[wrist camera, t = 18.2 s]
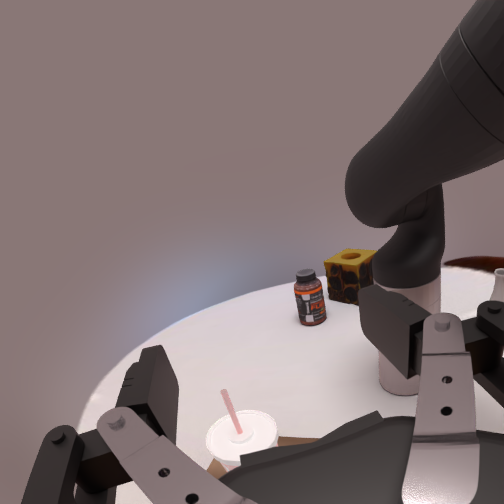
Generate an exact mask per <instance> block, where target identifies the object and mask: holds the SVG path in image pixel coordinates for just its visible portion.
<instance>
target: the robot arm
mask: <svg viewBox="0 0 504 504" xmlns="http://www.w3.org/2000/svg"><path fill="white" fill-rule="evenodd" d="M503 159H504V0H477V1H476V2H475V4H474V5H473V6H472V8H471V9H470V10H469V12H468V13H467V14H466V16H465V17H464V18H463V20H462V21H461V23H460V24H459V25H458V27H457V28H456V29H455V31H454V32H453V34H452V35H451V37H450V38H449V40H448V41H447V43H446V44H445V45H444V47H443V48H442V50H441V51H440V53H439V54H438V56H437V58H436V59H435V61H434V62H433V64H432V66H431V67H430V68H429V70H428V72H427V73H426V74H425V76H424V77H423V79H422V80H421V81H420V82H419V83H418V85H417V86H416V87H415V89H414V90H413V91H412V92H411V94H410V95H409V96H408V98H407V99H406V100H405V102H404V103H403V104H402V105H401V107H400V108H399V109H398V111H397V112H396V113H395V115H394V116H393V117H392V118H391V120H390V121H389V122H388V123H387V124H386V125H385V126H384V127H383V128H382V129H381V130H380V131H379V132H378V133H377V134H376V135H375V136H374V137H373V138H372V139H371V140H370V141H369V142H368V143H367V144H366V145H365V146H364V147H363V148H362V149H361V150H360V151H359V152H358V153H357V154H356V155H355V156H354V157H353V159H352V160H351V162H350V165H349V167H348V170H347V173H346V180H345V195H346V200H347V203H348V206H349V208H350V210H351V211H352V213H353V215H354V216H355V217H356V218H357V219H358V220H359V221H361V222H362V223H363V224H365V225H367V226H370V227H374V228H387V227H391V226H395V225H398V228H397V230H396V232H395V233H394V235H393V236H392V238H391V239H390V240H389V241H388V242H387V243H386V244H385V245H384V246H383V247H381V249H379V250H378V251H377V252H376V253H375V254H374V256H373V259H372V271H373V281H374V285H371V286H368V287H365V288H362V289H359V291H358V300H359V311H360V322H361V327H362V330H363V333H364V335H365V336H366V337H367V338H368V340H369V341H370V342H371V343H372V344H373V345H374V346H375V347H376V348H377V349H378V350H379V381H380V384H381V385H382V387H383V388H384V389H385V390H387V391H389V392H390V393H393V394H396V395H413V394H417V393H418V400H417V407H416V415H415V417H410V416H396V417H388V418H382V417H381V415H380V414H379V412H378V411H374V412H372V413H370V414H367V415H365V416H363V417H360V418H358V419H355V420H353V421H350V422H348V423H345V424H344V425H342V426H340V427H339V428H337V429H336V430H334V431H332V432H331V433H329V434H327V435H326V436H324V437H322V438H320V439H319V440H317V441H315V442H312V443H305V444H297V445H288V446H277V447H271V448H268V449H264V450H260V451H256V452H252V453H248V454H243V455H239V456H240V462H241V465H240V466H238V467H236V468H234V469H232V470H230V471H228V472H227V473H225V474H224V475H223V476H221V477H220V478H219V479H216V478H215V477H213V476H212V475H211V474H209V473H208V472H207V471H206V470H204V469H203V468H202V467H201V466H199V465H198V464H197V463H196V462H194V461H193V460H192V459H191V458H189V457H188V456H187V455H186V454H185V453H183V452H182V451H181V450H180V449H179V448H178V447H177V446H176V430H177V413H178V397H179V386H178V381H177V378H176V376H175V373H174V371H173V369H172V366H171V364H170V362H169V360H168V357H167V355H166V353H165V350H164V348H163V347H162V345H157V346H153V347H148V348H144V349H142V352H141V356H140V359H139V362H136V363H133V364H132V365H131V367H130V368H129V369H128V370H127V372H126V375H125V378H124V381H123V384H122V388H121V390H120V393H119V396H118V400H117V403H116V406H115V408H113V409H111V410H109V411H107V412H106V413H104V414H103V415H102V416H101V417H100V418H99V420H98V422H97V429H94V430H91V431H88V432H85V433H82V434H79V435H78V433H77V432H76V430H75V429H74V428H73V427H71V426H68V425H62V426H58V427H56V428H54V429H52V430H51V431H50V432H48V434H47V435H46V436H45V438H44V440H43V442H42V445H41V447H40V450H39V453H38V455H37V458H36V461H35V463H34V466H33V469H32V472H31V474H30V477H29V481H28V483H27V486H26V490H25V493H24V496H23V499H22V502H21V504H115V498H116V488H117V486H118V485H121V484H124V483H127V482H130V481H133V480H134V482H135V483H136V484H137V485H138V487H139V488H140V489H141V490H142V491H143V493H144V494H145V495H146V496H147V497H148V498H149V499H150V501H151V502H152V503H153V504H504V434H500V433H493V432H487V431H481V430H476V412H475V394H474V382H473V379H474V380H475V381H476V382H477V383H478V384H480V385H481V386H482V387H483V388H484V389H485V390H486V391H487V392H488V393H489V394H490V395H491V396H492V397H493V398H494V399H495V400H496V401H497V402H498V403H499V404H500V405H501V406H502V407H503V408H504V358H503V357H502V356H503V351H504V302H501V301H496V300H490V301H485V302H483V303H481V304H480V305H479V306H478V308H477V317H474V318H471V319H467V320H463V321H461V320H460V318H459V317H457V316H456V315H454V314H451V313H441V267H440V266H441V259H442V256H443V253H444V248H445V222H444V201H443V189H442V183H444V182H446V181H449V180H452V179H455V178H458V177H461V176H464V175H467V174H469V173H472V172H475V171H478V170H480V169H482V168H485V167H487V166H490V165H492V164H494V163H497V162H498V161H501V160H503ZM75 483H76V484H77V489H76V495H75V499H74V494H73V491H74V486H75Z"/></svg>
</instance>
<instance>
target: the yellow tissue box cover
mask: <svg viewBox="0 0 504 504" xmlns="http://www.w3.org/2000/svg"><path fill="white" fill-rule="evenodd" d="M376 252H377V251H374V250H361V249H345V250H343V251H342V252H340V253H338V254H337V255H335V256H333V257H331V258H330V259H328V260H326V261H324V266H325V269H326V277H327V285H328V293H329V298H330V299H331V300H336V301H339V302H344V303H352V304H356V305H359V300H358V291H359V289H362V288H365V287H368V286H371V285H374V281H373V271H372V259H373V256H374V254H375V253H376Z"/></svg>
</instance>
